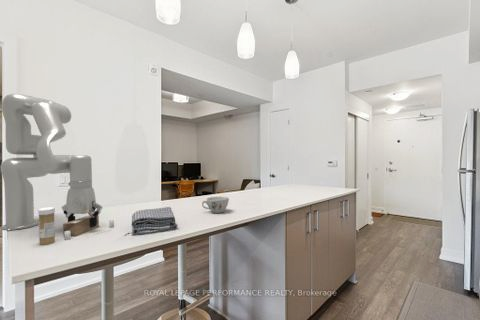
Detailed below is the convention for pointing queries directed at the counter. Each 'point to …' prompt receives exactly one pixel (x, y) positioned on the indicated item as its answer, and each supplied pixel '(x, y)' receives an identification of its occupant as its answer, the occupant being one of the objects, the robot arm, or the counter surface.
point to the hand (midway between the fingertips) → (82, 226)
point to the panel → (99, 230)
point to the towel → (153, 221)
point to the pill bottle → (46, 225)
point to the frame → (79, 226)
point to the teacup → (216, 204)
